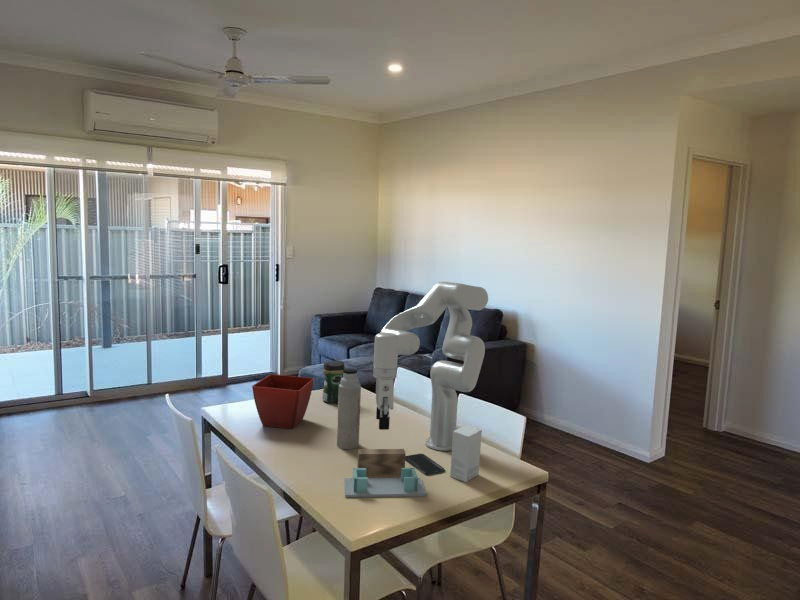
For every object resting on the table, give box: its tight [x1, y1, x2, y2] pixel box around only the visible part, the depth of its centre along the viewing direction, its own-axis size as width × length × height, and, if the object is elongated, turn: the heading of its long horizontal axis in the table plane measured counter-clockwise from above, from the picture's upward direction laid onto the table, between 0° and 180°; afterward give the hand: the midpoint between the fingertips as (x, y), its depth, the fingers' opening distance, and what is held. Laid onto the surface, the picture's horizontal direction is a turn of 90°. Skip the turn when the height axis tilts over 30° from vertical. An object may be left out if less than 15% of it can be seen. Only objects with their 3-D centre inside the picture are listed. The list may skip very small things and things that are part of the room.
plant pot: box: [251, 373, 315, 430], centre depth 222 cm, size 19×19×17 cm
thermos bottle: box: [336, 368, 362, 450], centre depth 201 cm, size 8×8×28 cm
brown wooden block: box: [356, 448, 406, 476], centre depth 181 cm, size 15×4×7 cm, turn 98°
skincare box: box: [449, 424, 483, 483], centre depth 180 cm, size 8×7×16 cm
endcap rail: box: [343, 467, 427, 498], centre depth 169 cm, size 24×11×5 cm, turn 97°
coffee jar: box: [322, 360, 346, 404], centre depth 254 cm, size 10×8×19 cm
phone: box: [405, 453, 446, 476], centre depth 188 cm, size 8×1×15 cm
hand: (382, 424), depth 179 cm, fingers open, 9 cm apart
